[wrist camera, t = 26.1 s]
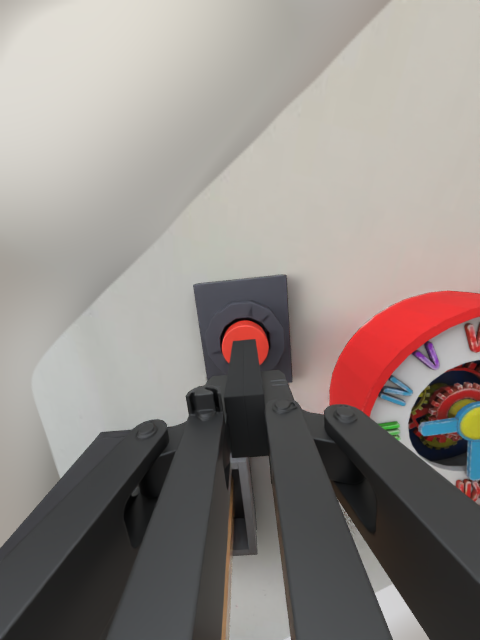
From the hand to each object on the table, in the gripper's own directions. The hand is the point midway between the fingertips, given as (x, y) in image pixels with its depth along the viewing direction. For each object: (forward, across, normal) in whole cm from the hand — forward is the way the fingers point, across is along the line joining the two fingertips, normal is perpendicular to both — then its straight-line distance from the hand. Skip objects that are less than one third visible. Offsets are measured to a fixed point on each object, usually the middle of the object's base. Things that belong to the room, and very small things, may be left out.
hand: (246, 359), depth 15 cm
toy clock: (+7, +18, -8) cm, 21 cm away
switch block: (+7, 0, 0) cm, 7 cm away
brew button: (+4, 0, 0) cm, 4 cm away
